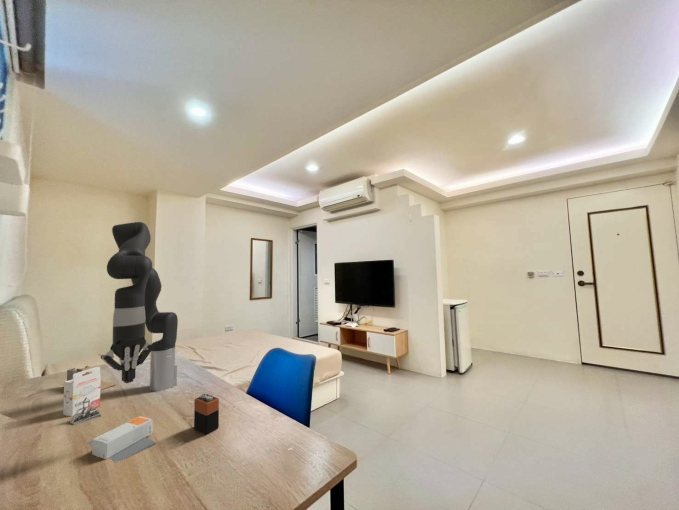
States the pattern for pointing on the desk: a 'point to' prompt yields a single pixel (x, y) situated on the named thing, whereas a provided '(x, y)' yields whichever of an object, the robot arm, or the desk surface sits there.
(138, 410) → the desk surface
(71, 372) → the ruin model on sheet
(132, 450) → the mat
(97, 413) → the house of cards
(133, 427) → the skincare box
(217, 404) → the battery
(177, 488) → the desk surface
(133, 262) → the robot arm
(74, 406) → the ink cartridge box
